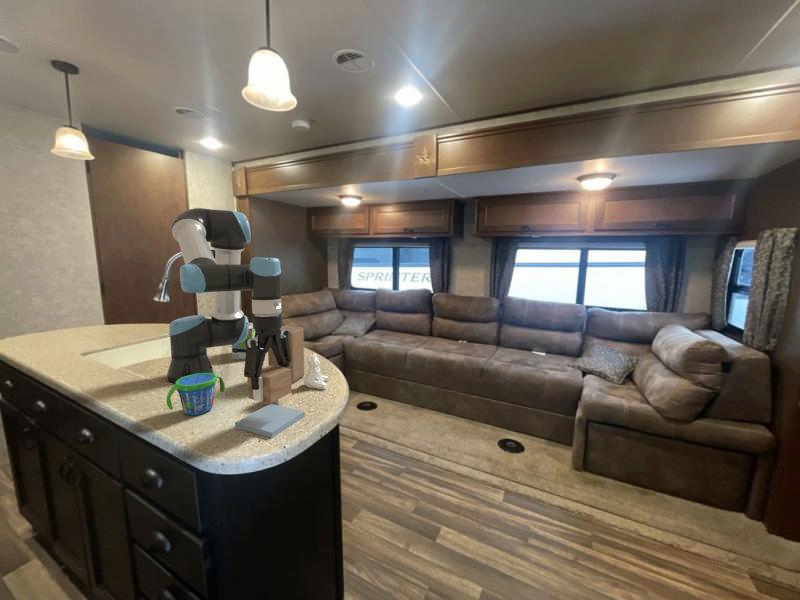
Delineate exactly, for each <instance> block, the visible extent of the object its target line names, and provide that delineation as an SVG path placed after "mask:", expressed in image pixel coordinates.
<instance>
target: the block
mask: <svg viewBox="0 0 800 600" xmlns="http://www.w3.org/2000/svg"><path fill="white" fill-rule="evenodd" d="M280 330H284V331H288V332H289V334H288V341H289V347H290V353H291V360H292V361H291V363H289V364H290V365H289V367H286V368H288V369H291V385H293V384H294V383H295V382H297V381H298V380H300V379H301V378H303V377H305V344H304V343H305V342H304V341H305V338H304V336H305V335H304V327H302V326H295V325H294V326H293V325H282V327H281V328H280ZM267 356H268V357H267V358H268V361H267V363H268V366H269V365H270V366H276V367H277V366H279V365H278V363H277V360H276V358H275V356H274V353H273V351H272V348H269V349H268V352H267ZM286 358H287V357H286Z"/></svg>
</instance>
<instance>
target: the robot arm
mask: <svg viewBox="0 0 800 600" xmlns="http://www.w3.org/2000/svg"><path fill="white" fill-rule="evenodd" d="M250 227H251V226H250V222H249V220H248V218H247V216H246V215H245V214H244V213H243V212H240V211H233V210H227V209H226V210H225V209H212V208H204V207H203V208H202V207H196V208H190V209H187V210H184V211H183V212H180V213H179V214H178V215H176V217H175V218H174V219H173V221H172V224H171V227H170V228H171V235H172V237H173V239H174V240H175V241H176V242H177V243H178V245H179V248H180V251H181V255H182V259H183V261H184V264H182V265H181V266H180V268H179V279H180V287H181V291H183V292H184V293H190V294H191V293H192V294H195V293H197V294H203V293H215V310H213V311H212V312H211V317H210V318H206V317H205V315H203V314H198V315H190V316H189V315H188V316H184V317H180V318H177V319H174V320H172V321H171V322H170V324H169V333H168V336H169V340H170V341H169V343H170V363H169V367H168V371H167V373H166V380H167V382H169V383H172V384H175V383H176V381H177V380H178V379H180V378H182V377H185V376H188V375H192V374H198V373H212V374H214V368H213V366H212V363H211V361H210V359H209V356H208V353H207V352H208V351H207V349H208V348H209V349H210V348H218V347H225V346H232V345H235V344H238V343H242V342H244V341H245V344H246V357H245V360H244V370H243V376H244V378H247V377H249V378H251V388H252V389H253V398H254V401H258V402H263V380H262V377H260V374H261V370H262V368H263V366H264V361H265V358H266V355H267V354H268V349H269V348H272V351H273V353H274V356H275V358H276V360H277V363H278V365H279V366H277V367H282V368H286V367H289V365H290V364H289V363H291V361H292V360H291V353H290V347H289V341H288V334H289V332H288V331H284V330H280V328H281V327H282V326H283V315H282V314H281V313H282V311H283V310H282V308H283V307H282V275H281V274H282V269H281V261H280V259H279V258H277V257H252V258H251V259H250V263H248V264H241V259H242V258H241V253H242V252H244V250H245V249H246V245H248V244H250V243H251V240H252V237H251V236H252V235H251V228H250ZM209 243H210V245H209ZM211 248H212V249H213V250H214V252H215V257H214V255H213V252H212V250H211ZM242 291H243V292H244V291H245V292H246V291H251V310H252V311H251V313H252V314H253V316H252V323H253V329H254V330H255V336H254V338H252V339H246V338H247V335H248V328H249V326H248V323H249V319H248V317H247V315H245V314H244V312H243V310H242V309H240V308H241V292H242ZM260 348H263V349H260ZM286 357H287V358H286ZM255 372H256V373H255Z"/></svg>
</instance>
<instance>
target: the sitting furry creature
mask: <svg viewBox="0 0 800 600" xmlns="http://www.w3.org/2000/svg"><path fill="white" fill-rule="evenodd" d="M306 361H307V364H308V366H309V368H308V370H307V373H306V375H304V378H303V383H304V385H305V386H306V387H307V388H308V389H315V388H317V390H322V389H323V391H324V389H325V390H327V388H328V384H327V383H328V382H329V377H328V376H326V375H323V374H322V372H321V369H320V364H321V362H320V358H319V357H318V356H317V354H316V353H311V354H310V355H309V356H308V357H307V359H306ZM327 381H328V382H327Z"/></svg>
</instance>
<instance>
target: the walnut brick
mask: <svg viewBox="0 0 800 600" xmlns="http://www.w3.org/2000/svg"><path fill="white" fill-rule="evenodd" d="M255 373H256V372H255ZM260 377H262V380H263V401H262V402H263V403H264V402H267V403H273V402H274V401H276V400H278V399H280V398H282V397H284V396H286V395H288V394H289V393H291V388H292V384H291V369H288V368H282V367H276V366H270V365H269V364H268V365H266V366H264V367H262V370H261V374H260ZM246 378H247V380H246V381H247V397H248V399H250V400H254V398H253V389H252V388H251V378H249V377H246ZM254 401H255V400H254Z"/></svg>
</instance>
